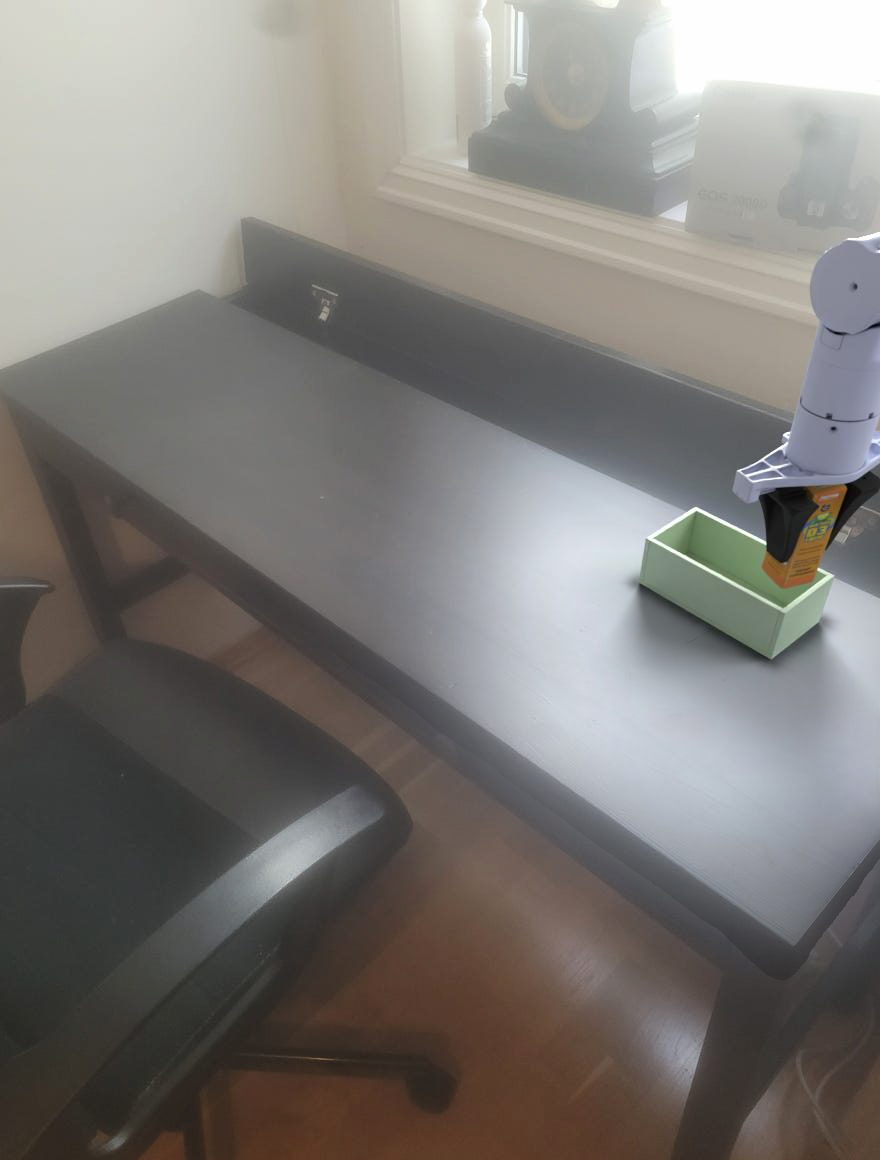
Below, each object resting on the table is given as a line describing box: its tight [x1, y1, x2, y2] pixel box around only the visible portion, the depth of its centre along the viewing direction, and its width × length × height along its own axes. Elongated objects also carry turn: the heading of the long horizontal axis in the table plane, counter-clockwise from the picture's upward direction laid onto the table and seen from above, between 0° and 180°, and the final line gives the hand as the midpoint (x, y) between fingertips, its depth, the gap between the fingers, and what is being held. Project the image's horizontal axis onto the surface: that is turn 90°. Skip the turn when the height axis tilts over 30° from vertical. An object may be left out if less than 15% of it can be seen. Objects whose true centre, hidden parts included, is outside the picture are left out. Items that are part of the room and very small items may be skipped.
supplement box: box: [762, 484, 847, 589], centre depth 74 cm, size 3×3×10 cm
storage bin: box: [638, 506, 835, 660], centre depth 84 cm, size 15×8×6 cm, turn 39°
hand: (796, 550), depth 75 cm, fingers closed on supplement box, 3 cm apart
